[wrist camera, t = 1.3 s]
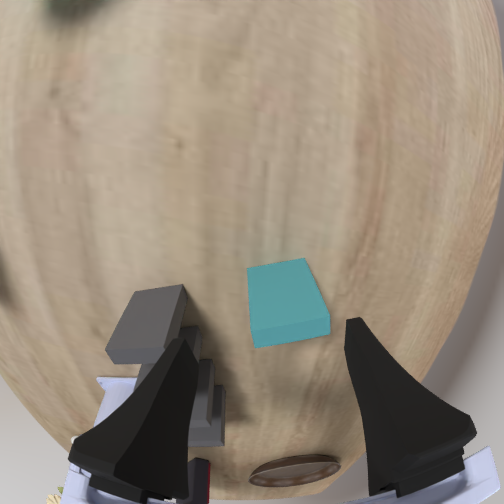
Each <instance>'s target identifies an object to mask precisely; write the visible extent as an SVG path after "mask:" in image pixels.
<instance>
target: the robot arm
mask: <svg viewBox="0 0 504 504" xmlns="http://www.w3.org/2000/svg"><path fill="white" fill-rule="evenodd" d="M344 350H345V356H346V361H347V366H348V370H349V374H350V377H351V380H352V384H353V387H354V390H355V394H356V397H357V400H358V404H359V407H360V411H361V416H362V421H363V428H364V435H365V443H366V452H367V463H368V486H369V496H370V497H367V498H363V499H358V500H354V501H349V502H344V503H339V504H478V503H480V502H481V501H483V500H485V499H486V498H488V497H489V496H491V495H492V494H493V493H495V492H497V491H498V490H499V489H500V482H499V478H498V474H497V470H496V466H495V462H494V459H493V455H492V452H491V449H490V446H487V447H485V448H483V449H482V450H480V451H478V452H476V453H475V454H473V455H471V456H469V457H467V458H466V459H464V460H463V458H462V455H463V454H464V449H463V446H465V445H466V444H467V443H469V442H470V441H471V440H472V439H473V438H474V437H475V436H476V434H477V431H476V428H475V426H474V423H473V421H472V419H471V417H470V415H468V414H465V413H464V412H462V411H460V410H458V409H456V408H454V407H452V406H451V405H449V404H448V403H446V402H444V401H443V400H441V399H440V398H439V397H437V396H436V395H434V394H433V393H432V392H430V391H429V390H428V389H426V388H425V387H424V386H422V385H421V384H420V383H419V382H418V381H416V380H415V379H414V378H413V377H412V376H411V375H410V374H409V373H408V372H407V371H406V370H405V369H404V368H403V367H402V366H401V365H400V364H399V363H398V362H397V361H396V360H395V359H394V358H393V357H392V356H391V355H390V354H389V352H388V351H387V350H386V349H385V348H384V347H383V345H382V344H381V343H380V342H379V341H378V339H377V338H376V337H375V336H374V334H373V333H372V332H371V330H370V329H369V328H368V326H367V325H366V324H365V322H364V321H363V319H362V318H360V317H357V318H352V319H347V320H346V334H345V346H344ZM198 374H199V363H198V362H197V360H196V358H195V356H194V354H193V352H192V350H191V348H190V347H189V345H188V343H187V341H186V339H185V338H175V339H173V340H172V341H171V342H170V344H169V345H168V346H167V348H166V349H165V351H164V352H163V354H162V355H161V356H160V358H159V359H158V361H157V362H156V364H155V365H154V366H153V368H152V369H151V370H150V372H149V373H148V374H147V376H146V377H145V378H144V380H143V381H142V382H141V383H140V385H139V386H138V387H137V388H136V389H135V391H133V390H134V387H135V383H136V380H137V378H118V377H97V379H96V380H97V382H98V383H99V384H100V385H101V387H102V388H103V389H104V390H105V395H104V398H103V400H102V403H101V406H100V409H99V412H98V414H97V417H96V420H95V423H94V426H93V428H92V429H90V430H89V431H87V432H86V433H84V434H81V435H80V436H79V437H77V438H75V439H74V441H73V444H72V447H71V450H70V453H69V457H68V460H69V461H70V466H69V471H68V474H67V478H66V482H65V485H64V489H63V493H62V497H61V501H60V504H177V503H171V502H166V501H164V499H168V500H172V498H175V499H180V500H185V499H187V498H188V497H189V486H188V436H189V426H190V420H191V415H192V410H193V405H194V400H195V395H196V390H197V385H198Z"/></svg>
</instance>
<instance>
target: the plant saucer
mask: <svg viewBox="0 0 504 504" xmlns="http://www.w3.org/2000/svg"><path fill="white" fill-rule="evenodd" d="M340 469H341V465H340V464H339V463H338V462H337V461H335V460H334V459H332V458H329V457H327V456H322V455H303V456H294V457H288V458H283V459H279V460H275V461H271V462H268V463H266V464H264V465H262V466H260V467H259V468H257V469H256V470H255V471H254V472H253V473H252V474H251V475H250V477H249V479H248V482H249V483H251V484H253V485H257V486H262V487H288V486H296V485H302V484H307V483H311V482H315V481H318V480H321V479H324V478H326V477H329V476H331V475H333V474H335V473H336V472H338V471H339V470H340Z"/></svg>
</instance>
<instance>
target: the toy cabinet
mask: <svg viewBox="0 0 504 504" xmlns="http://www.w3.org/2000/svg"><path fill="white" fill-rule="evenodd" d="M188 486H189V497H188V498H187V499H185V500H180V499H176V503H177V504H208V503H209V488H210V463H209V461H208V460H204V459H199V458H194V459H193V460H191V461H190V462H188Z"/></svg>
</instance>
